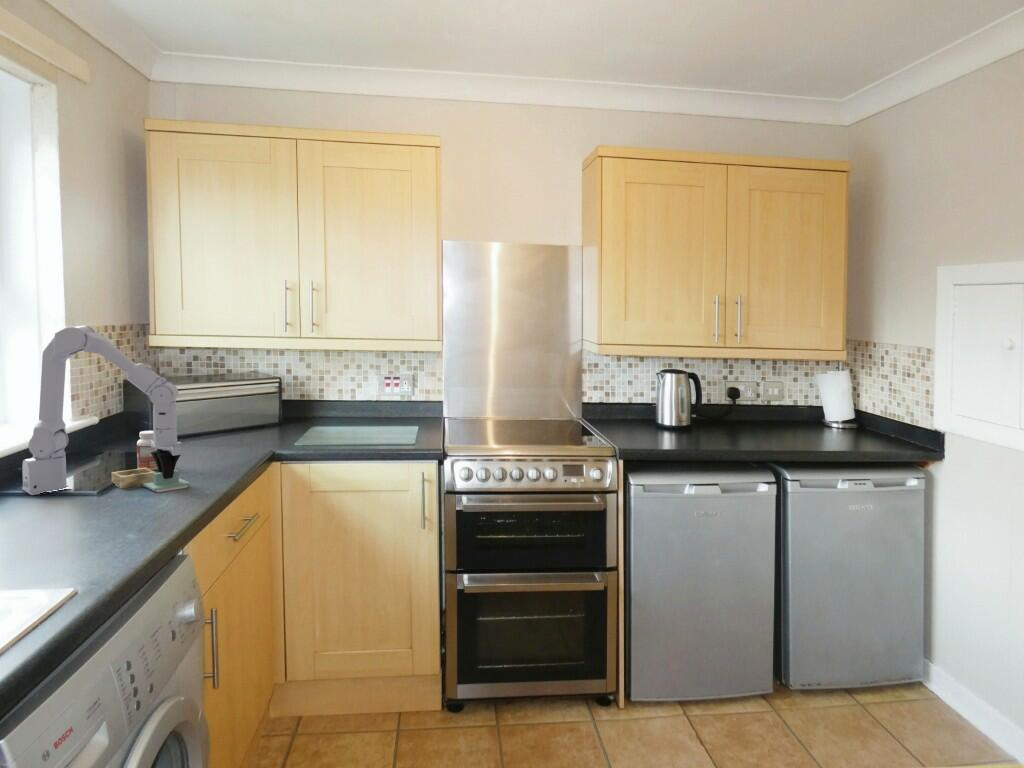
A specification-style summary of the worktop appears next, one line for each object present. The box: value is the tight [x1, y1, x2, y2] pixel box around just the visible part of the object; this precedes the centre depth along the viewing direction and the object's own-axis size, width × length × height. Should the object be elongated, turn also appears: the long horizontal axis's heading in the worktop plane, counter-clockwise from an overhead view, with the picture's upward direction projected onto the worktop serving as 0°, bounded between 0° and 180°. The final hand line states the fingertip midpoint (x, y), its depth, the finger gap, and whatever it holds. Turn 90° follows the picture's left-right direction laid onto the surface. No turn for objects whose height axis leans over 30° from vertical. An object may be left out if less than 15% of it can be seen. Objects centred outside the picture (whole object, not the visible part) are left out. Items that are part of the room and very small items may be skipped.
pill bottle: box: [136, 430, 158, 471], centre depth 219 cm, size 6×6×11 cm
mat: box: [154, 485, 189, 493], centre depth 200 cm, size 8×8×1 cm
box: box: [111, 468, 157, 490], centre depth 202 cm, size 9×7×3 cm
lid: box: [142, 469, 190, 492], centre depth 199 cm, size 9×7×4 cm
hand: (166, 477), depth 199 cm, fingers closed on lid, 2 cm apart
